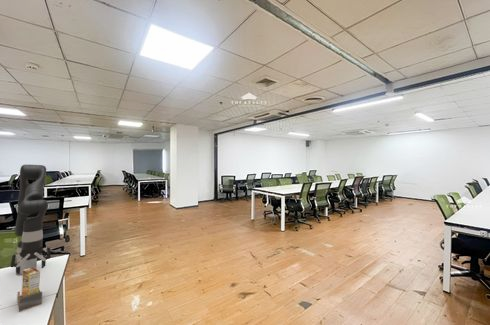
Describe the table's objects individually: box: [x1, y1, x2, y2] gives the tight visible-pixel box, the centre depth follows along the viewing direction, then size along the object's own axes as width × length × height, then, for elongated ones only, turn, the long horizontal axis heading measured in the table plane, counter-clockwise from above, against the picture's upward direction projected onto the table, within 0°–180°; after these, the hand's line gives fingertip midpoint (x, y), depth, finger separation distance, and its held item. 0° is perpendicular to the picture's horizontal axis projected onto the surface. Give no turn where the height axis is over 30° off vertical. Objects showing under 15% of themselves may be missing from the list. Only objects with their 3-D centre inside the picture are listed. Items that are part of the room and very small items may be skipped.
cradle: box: [16, 289, 43, 313], centre depth 108 cm, size 15×8×6 cm, turn 50°
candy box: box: [20, 267, 41, 298], centre depth 107 cm, size 9×4×15 cm, turn 63°
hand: (30, 270), depth 107 cm, fingers open, 8 cm apart
